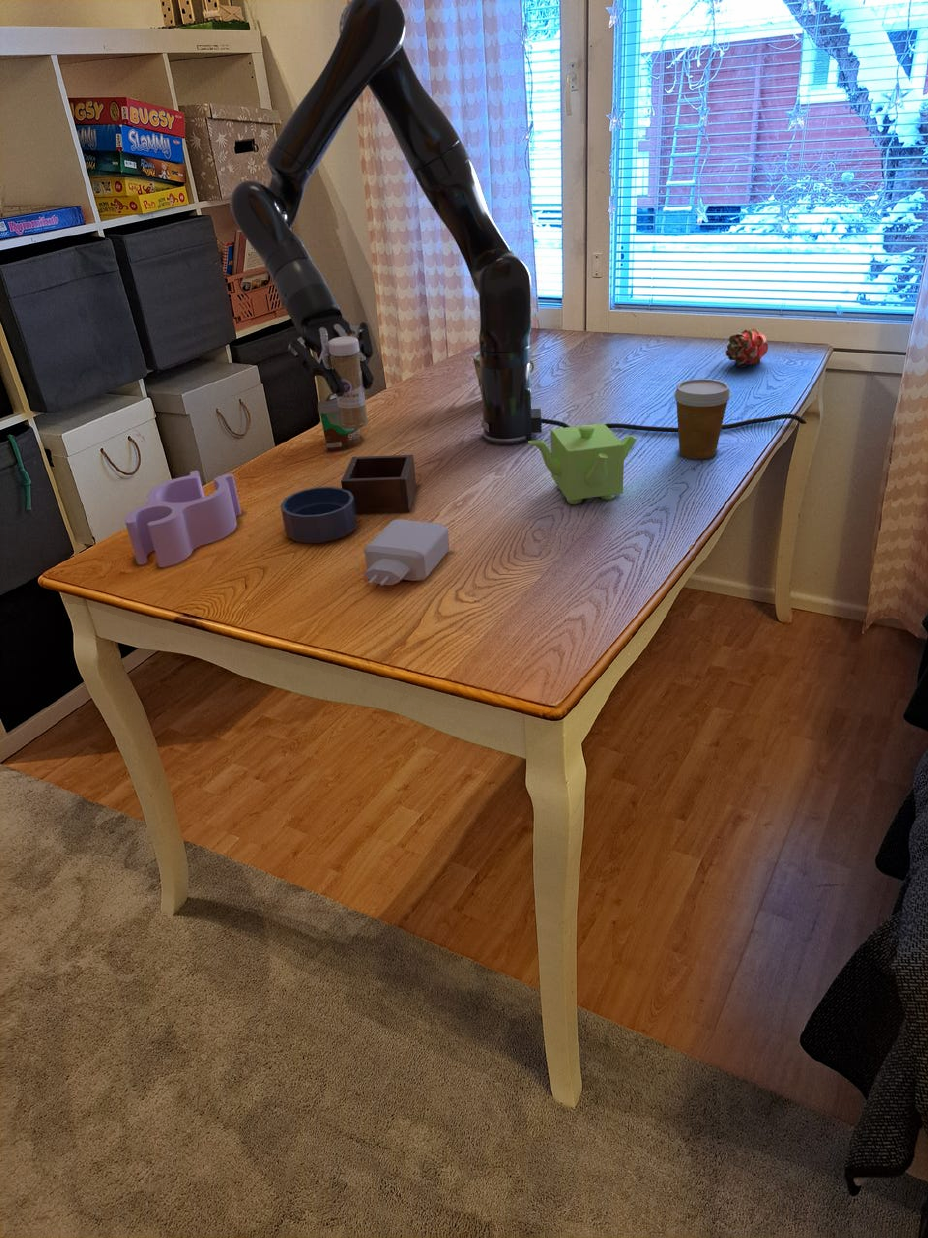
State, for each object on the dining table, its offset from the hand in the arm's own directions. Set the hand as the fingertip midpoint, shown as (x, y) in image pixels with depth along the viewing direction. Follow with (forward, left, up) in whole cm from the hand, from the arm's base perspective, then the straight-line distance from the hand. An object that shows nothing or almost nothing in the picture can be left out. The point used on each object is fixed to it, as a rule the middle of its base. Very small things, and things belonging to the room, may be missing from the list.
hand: (355, 389), depth 136 cm
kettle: (-35, -2, -20) cm, 40 cm away
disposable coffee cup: (-56, -18, -20) cm, 62 cm away
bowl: (+7, +9, -20) cm, 22 cm away
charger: (-8, +24, -20) cm, 32 cm away
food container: (+9, -30, -20) cm, 38 cm away
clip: (+28, +10, -20) cm, 36 cm away
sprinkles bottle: (+1, -1, -6) cm, 7 cm away
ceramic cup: (-21, -51, -20) cm, 59 cm away
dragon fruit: (-75, -71, -20) cm, 105 cm away
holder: (-1, -2, -20) cm, 20 cm away
